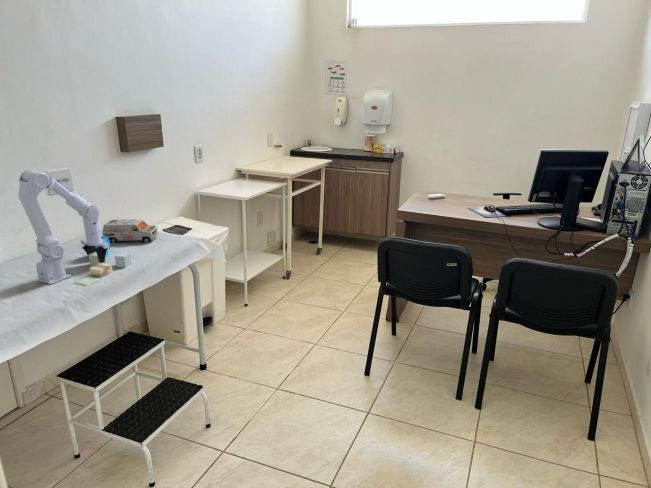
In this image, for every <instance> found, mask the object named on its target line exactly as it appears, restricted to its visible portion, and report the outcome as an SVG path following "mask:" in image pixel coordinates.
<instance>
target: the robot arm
mask: <svg viewBox="0 0 651 488" xmlns="http://www.w3.org/2000/svg"><path fill="white" fill-rule="evenodd" d="M18 182H19V186H18V187H19V189H18V199H19V201H20V203H21V205H22V207H23V210H24V211H25V214H26V216H27V218H28V220H29V222H30V225H31V227H32V230H33V231H34V233H35V235H36V240H35V242H36V251H37V252H38V253H39V254H40V255H41V260H40V261H38V263H36V264H35V265H36V266H35V268H36V272H37V277H38V279H37V282H40V283H44V284H48V285H53V284H56V283H57V282H61V281H63V280H65V279H68V278H70V277H72V274H69V273H67V272H66V267H65V266H66V265H65V262H64V258H63V256H64V255H65V247H64V246H63V244H61V243H60V242H59V240H58V239H57V237H55V236H54V234H53V232H52V230H51V227H50V226H49V224H48V221H47V219H46V218H45V214H44V212H43V210H42V208H41V205H40V203H39V201H38V196H39V195H40V193H42V192H43V191H44V190H45V189H49V190H50V191H52V192H54V193H55V194H56V195H59V196H60V197H62V198H63V199H64V200H65V203H66V205H67V206H69V207H70V208H72V209H73V210H74V211H75V212H77V213H78V215H79V216H80V217H82V221H83V222H82V223H83V228H84V233H85V234H84V235H85V238H83V239H80V245H83V246H82V250H83V251H84V252H85V253H86V255H87V257H88V258H89V256H88V255H90V254H92V253H95V252H96V253H97V256H98V259H99V262H100V263H103V262H105V260H106V257H105V255H106V252H107V249H108V248H109V249H110V246H109V244H108V243H106V242H104V241H103V239H101V236H102V235H101V229H100V224H99V216H100V215H101V214H100V213H101V211H100V209H99V208H98V207H97V206H96V205H93V204H91V201H90V200H86V199H85V198H84V197H82V196H83V195H82V194H80V193H78V192H70V190H68V189H67V188H66V187H64V186H63V185H62V184H60V183H59V182H58V181H57V180H55V178H54V177H53V176H50V175H48V173H46V172H43V171H36V170H33V169H25V170H24V171H23V172H21V174H20V176H19V177H18ZM96 246H97V247H98V248H96V249H95V247H96ZM109 249H108V250H109Z"/></svg>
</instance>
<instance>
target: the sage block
mask: <svg viewBox="0 0 651 488" xmlns="http://www.w3.org/2000/svg"><path fill="white" fill-rule="evenodd" d="M88 256H89V257H88ZM87 257H88V259H89V260H88V261H89V265H90V267H93V266H95V265H98V264H100V262H99V259H98V256H97V253H96V252H95V253H92V254H90V255H87ZM106 261H107V260H106V259H105V262H103V264H107V262H106Z"/></svg>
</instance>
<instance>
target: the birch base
mask: <svg viewBox="0 0 651 488" xmlns="http://www.w3.org/2000/svg"><path fill="white" fill-rule="evenodd" d="M113 271H114V269H113V265H112V264H110V263H109V264H108V263H106V264H103V263H100V264H98V265H95V266H90V267H89V275H90V277H95V278H104V277H105V276H108V275H110V274H112V273H114V272H113Z"/></svg>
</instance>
